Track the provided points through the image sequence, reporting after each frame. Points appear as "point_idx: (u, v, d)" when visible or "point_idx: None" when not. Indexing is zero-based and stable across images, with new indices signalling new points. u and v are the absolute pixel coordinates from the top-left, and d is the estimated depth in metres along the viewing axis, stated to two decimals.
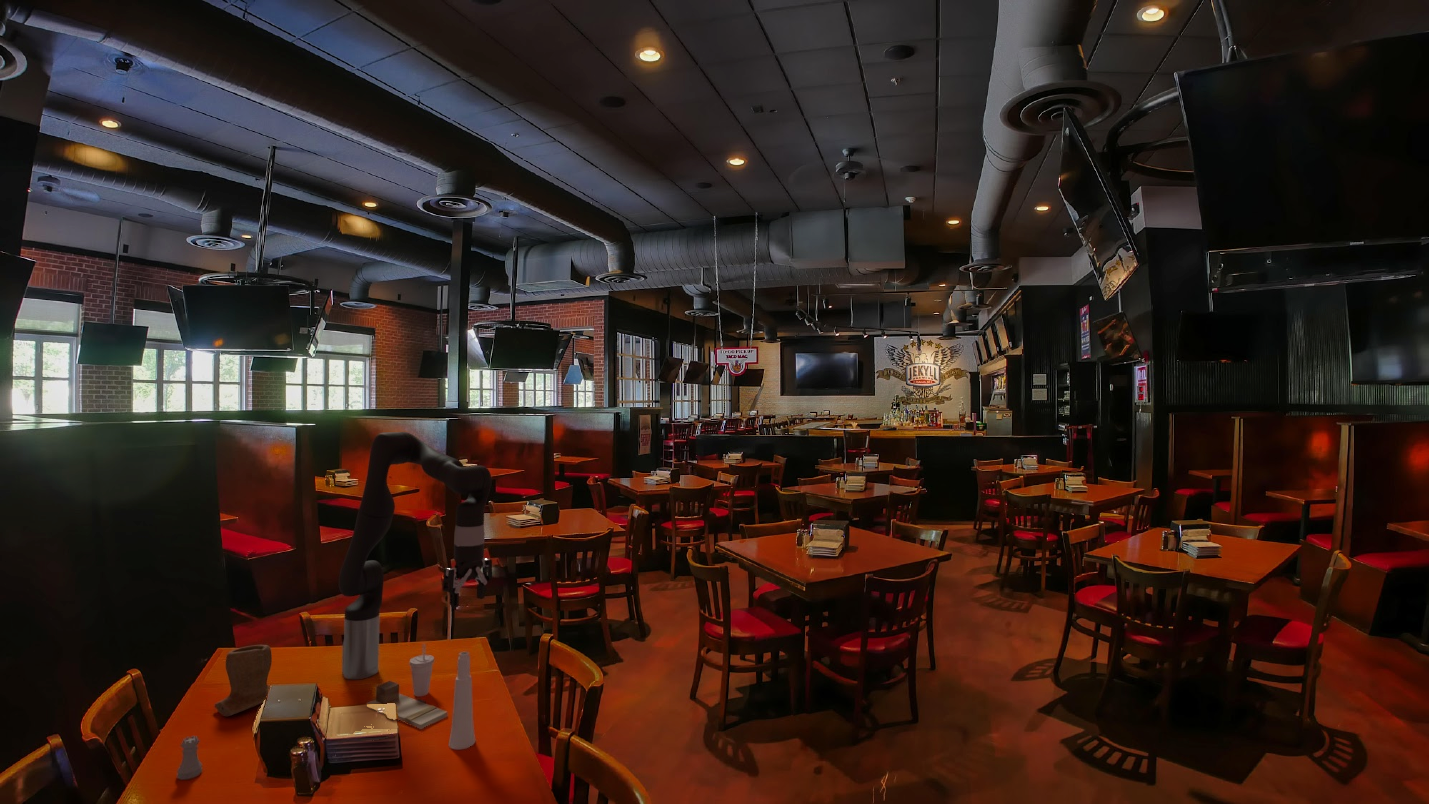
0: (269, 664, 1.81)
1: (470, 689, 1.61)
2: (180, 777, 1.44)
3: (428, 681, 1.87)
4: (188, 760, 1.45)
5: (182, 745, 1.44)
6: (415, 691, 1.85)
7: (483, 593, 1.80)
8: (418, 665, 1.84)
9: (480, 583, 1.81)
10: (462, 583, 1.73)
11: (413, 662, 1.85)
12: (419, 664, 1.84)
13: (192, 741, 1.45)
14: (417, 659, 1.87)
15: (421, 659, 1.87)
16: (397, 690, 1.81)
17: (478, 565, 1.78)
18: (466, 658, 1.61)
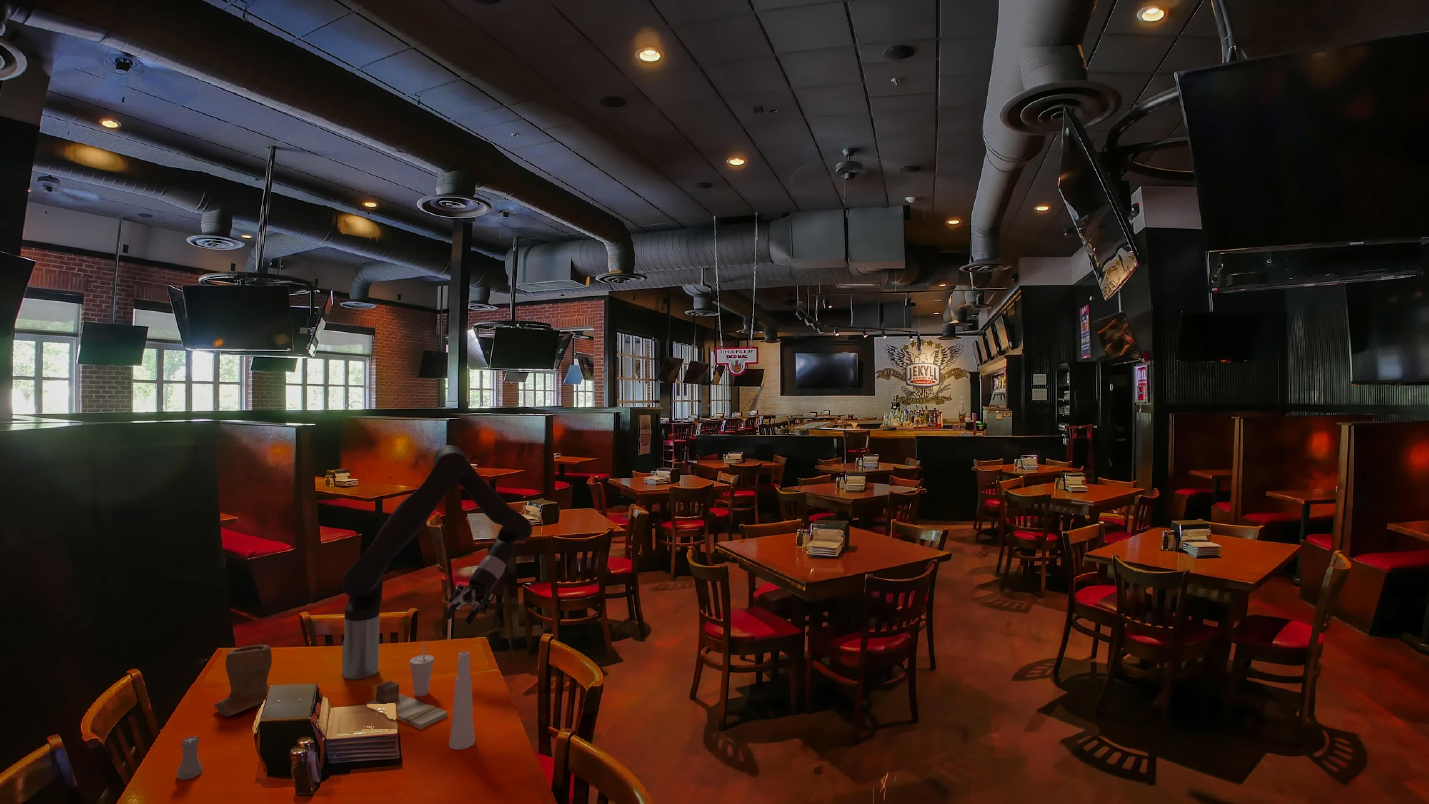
0: (269, 664, 1.81)
1: (470, 689, 1.61)
2: (180, 777, 1.44)
3: (428, 681, 1.87)
4: (188, 760, 1.45)
5: (182, 745, 1.44)
6: (415, 691, 1.85)
7: None
8: (418, 665, 1.84)
9: (455, 606, 2.02)
10: None
11: (413, 662, 1.85)
12: (419, 664, 1.84)
13: (192, 741, 1.45)
14: (417, 659, 1.87)
15: (421, 659, 1.87)
16: (397, 690, 1.81)
17: None
18: (466, 658, 1.61)
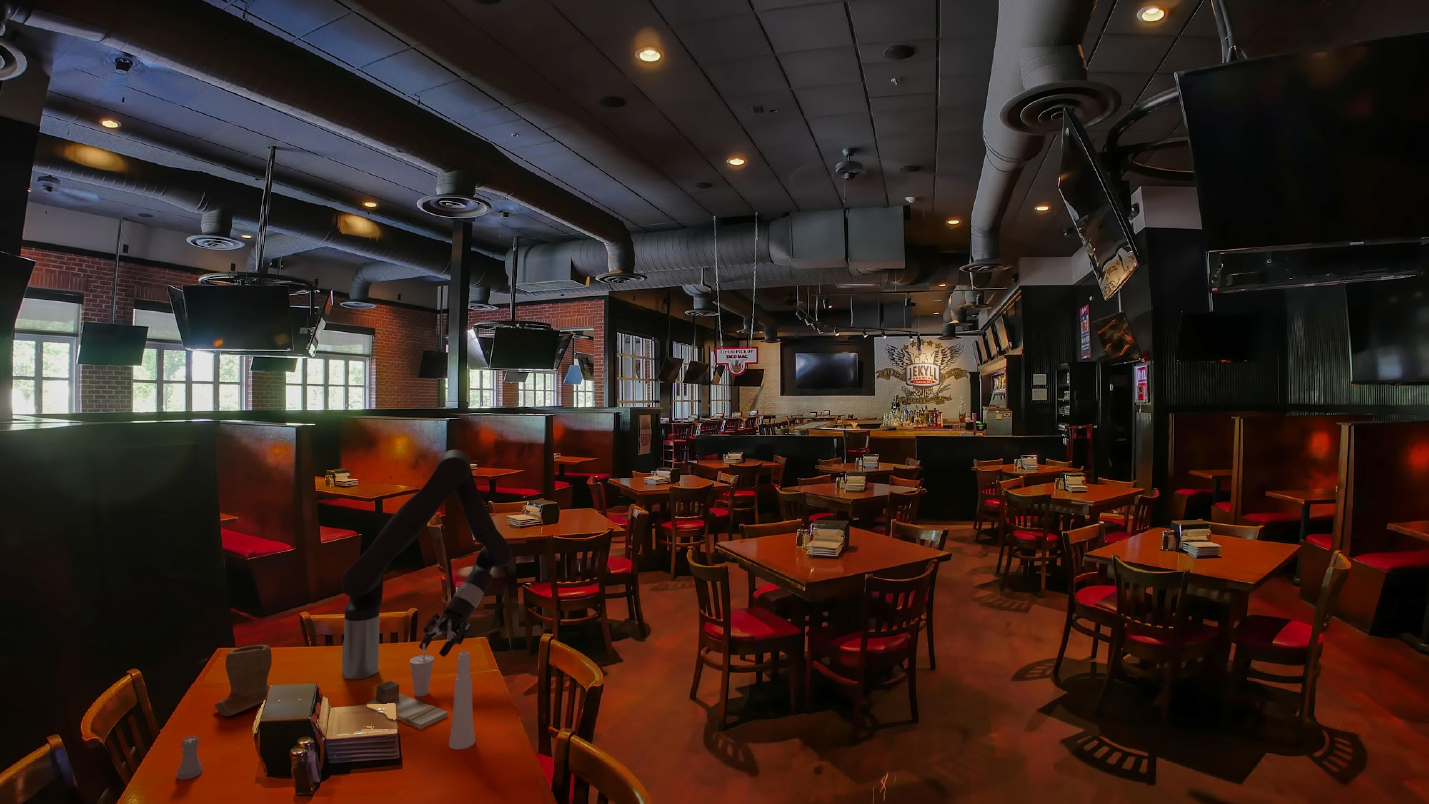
0: (269, 664, 1.81)
1: (470, 689, 1.61)
2: (180, 777, 1.44)
3: (428, 681, 1.87)
4: (188, 760, 1.45)
5: (182, 745, 1.44)
6: (415, 691, 1.85)
7: None
8: (418, 665, 1.84)
9: (430, 636, 1.94)
10: None
11: (413, 662, 1.85)
12: (419, 664, 1.84)
13: (192, 741, 1.45)
14: (417, 659, 1.87)
15: (421, 659, 1.87)
16: (397, 690, 1.81)
17: None
18: (466, 658, 1.61)
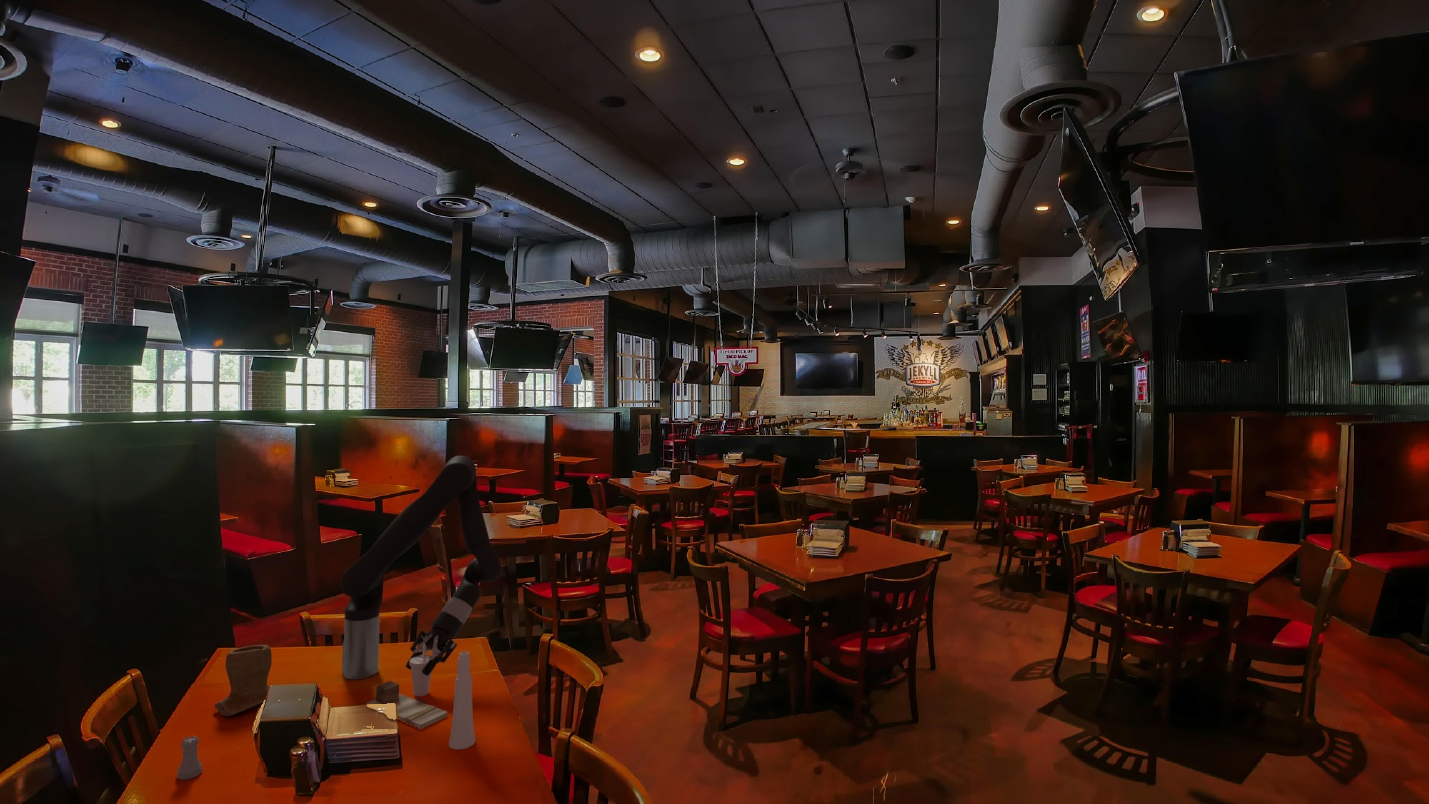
0: (269, 664, 1.81)
1: (470, 689, 1.61)
2: (180, 777, 1.44)
3: (428, 681, 1.87)
4: (188, 760, 1.45)
5: (182, 745, 1.44)
6: (415, 691, 1.85)
7: None
8: (418, 665, 1.84)
9: (418, 654, 1.90)
10: None
11: (413, 662, 1.85)
12: (419, 664, 1.84)
13: (192, 741, 1.45)
14: (417, 659, 1.87)
15: (421, 659, 1.87)
16: (397, 690, 1.81)
17: None
18: (466, 658, 1.61)
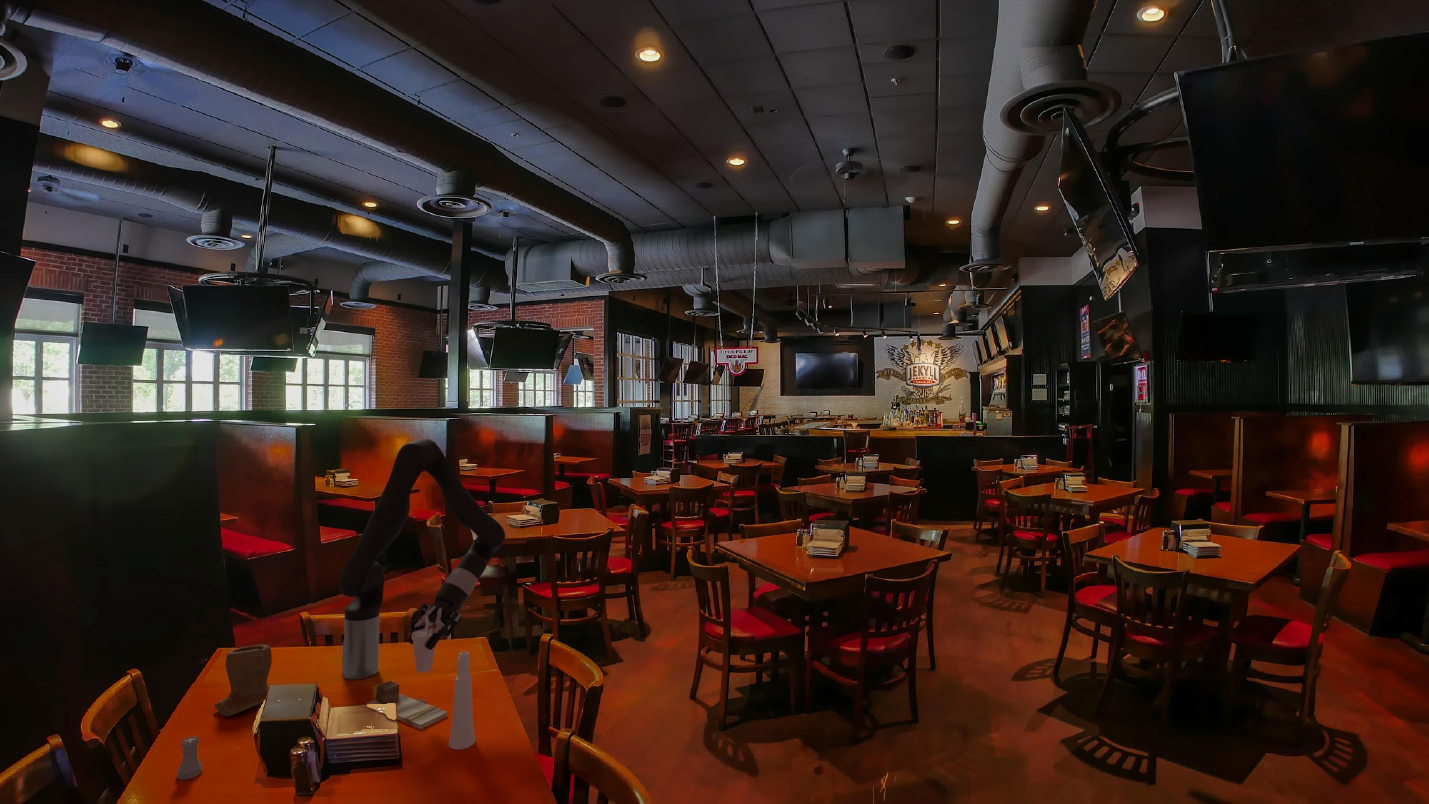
0: (269, 664, 1.81)
1: (470, 689, 1.61)
2: (180, 777, 1.44)
3: (432, 656, 1.73)
4: (188, 760, 1.45)
5: (182, 745, 1.44)
6: (418, 667, 1.72)
7: None
8: (421, 639, 1.71)
9: (420, 628, 1.76)
10: None
11: (415, 636, 1.71)
12: (422, 638, 1.71)
13: (192, 741, 1.45)
14: (419, 633, 1.73)
15: (424, 632, 1.73)
16: (397, 690, 1.81)
17: None
18: (466, 658, 1.61)
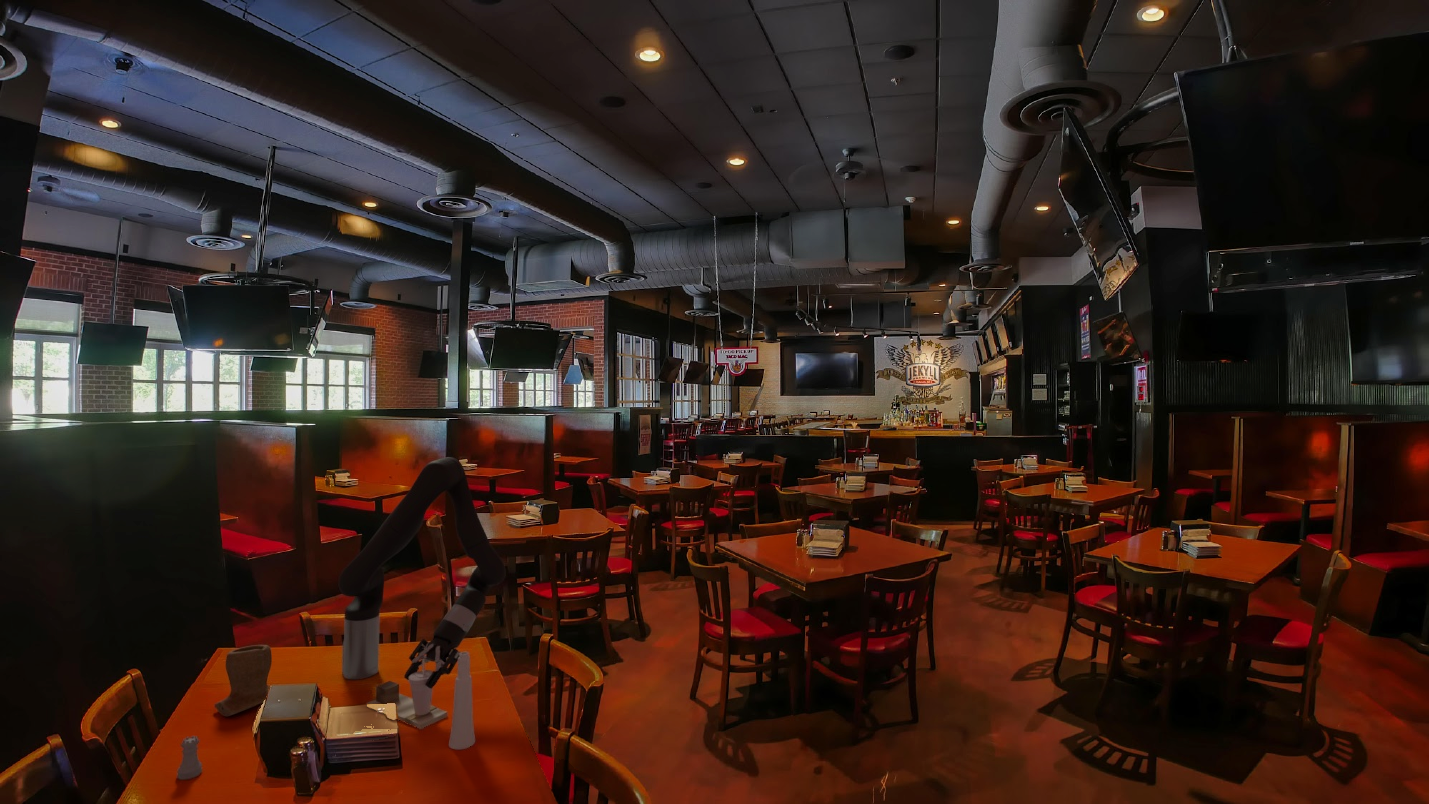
0: (269, 664, 1.81)
1: (470, 689, 1.61)
2: (180, 777, 1.44)
3: (429, 698, 1.73)
4: (188, 760, 1.45)
5: (182, 745, 1.44)
6: (416, 710, 1.72)
7: None
8: (418, 682, 1.70)
9: (417, 664, 1.77)
10: None
11: (412, 679, 1.71)
12: (419, 681, 1.70)
13: (192, 741, 1.45)
14: (416, 676, 1.73)
15: (421, 675, 1.73)
16: (397, 690, 1.81)
17: None
18: (466, 658, 1.61)
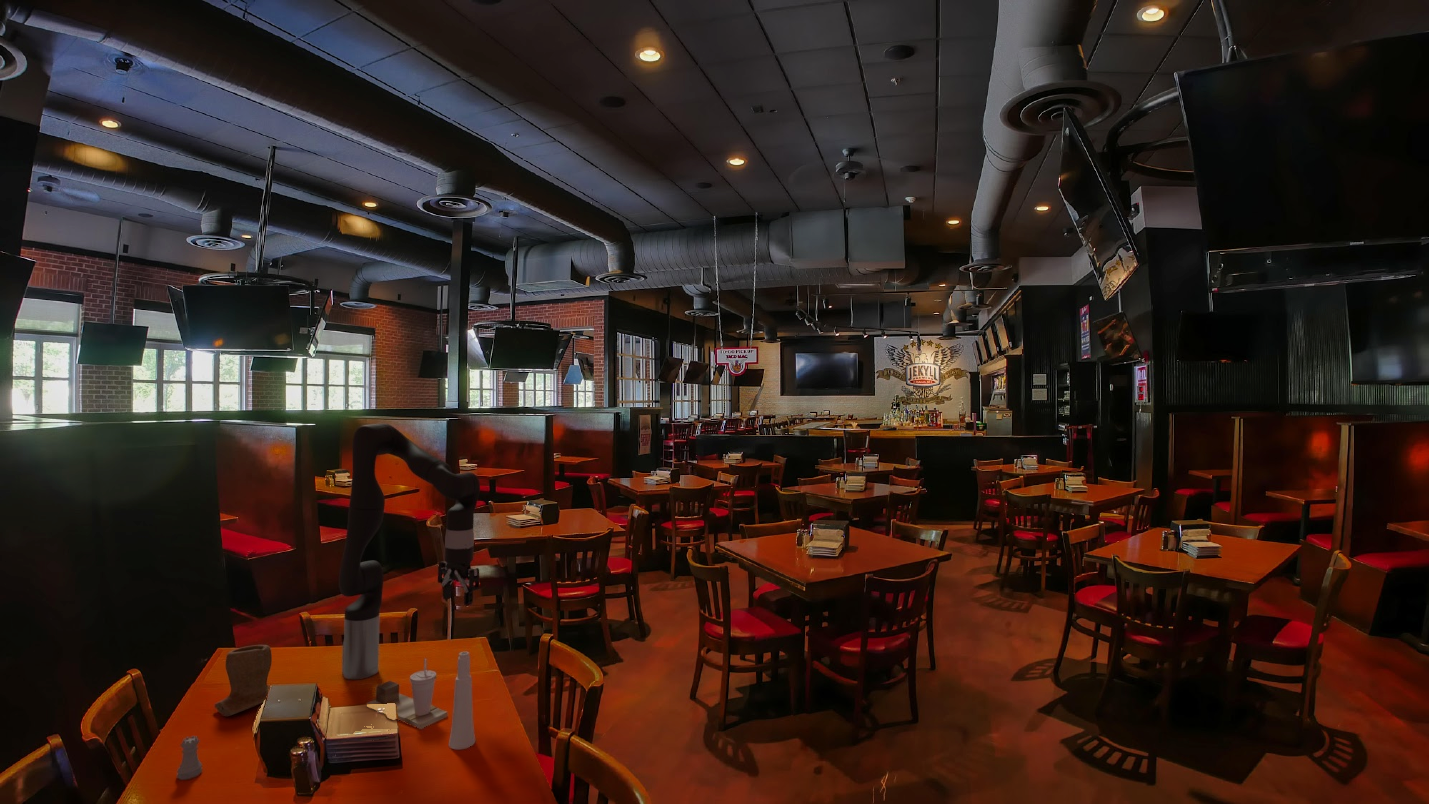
0: (269, 664, 1.81)
1: (470, 689, 1.61)
2: (180, 777, 1.44)
3: (430, 699, 1.73)
4: (188, 760, 1.45)
5: (182, 745, 1.44)
6: (416, 710, 1.72)
7: None
8: (419, 682, 1.70)
9: (448, 584, 1.89)
10: None
11: (414, 678, 1.71)
12: (420, 681, 1.71)
13: (192, 741, 1.45)
14: (417, 676, 1.73)
15: (422, 675, 1.73)
16: (397, 690, 1.81)
17: None
18: (466, 658, 1.61)
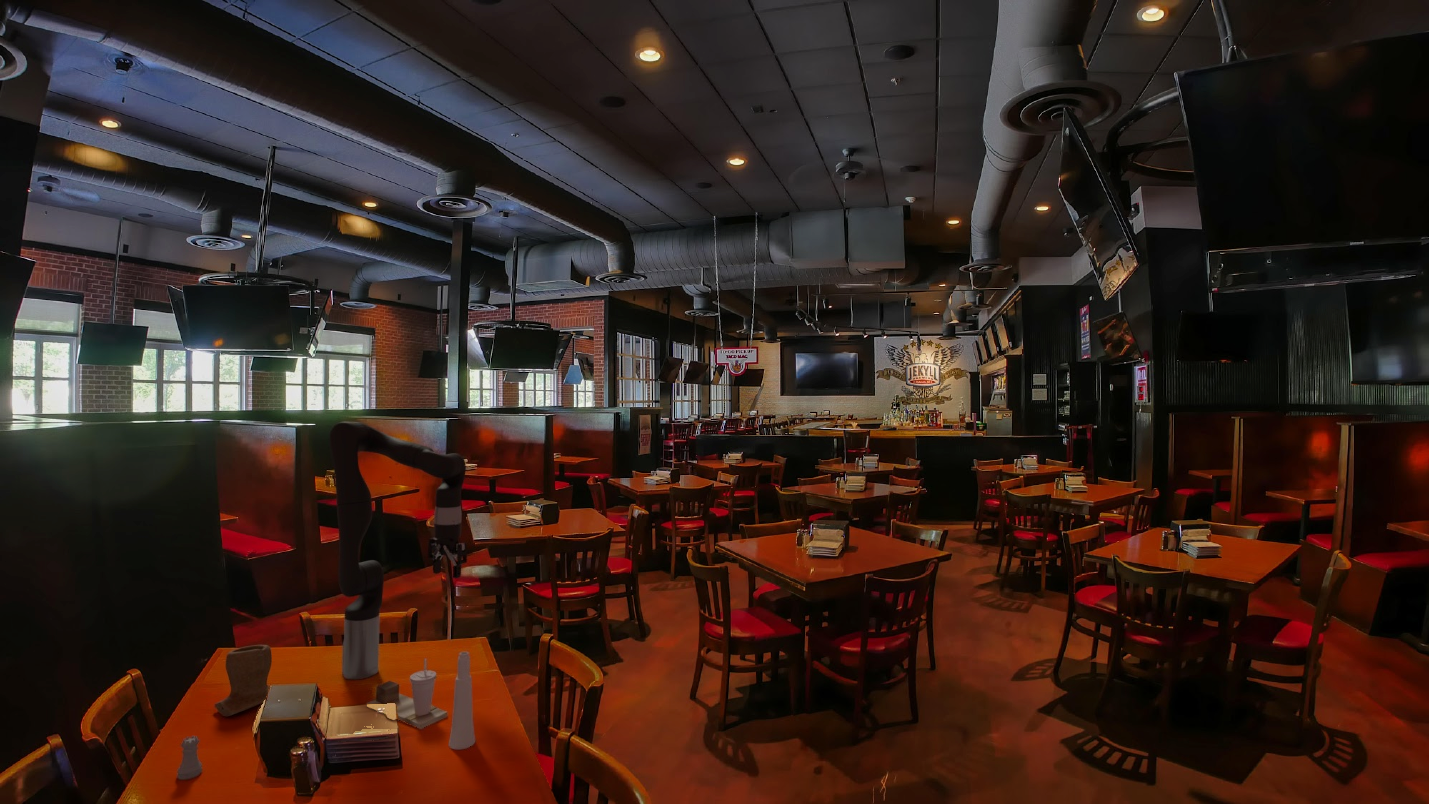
0: (269, 664, 1.81)
1: (470, 689, 1.61)
2: (180, 777, 1.44)
3: (430, 699, 1.73)
4: (188, 760, 1.45)
5: (182, 745, 1.44)
6: (416, 710, 1.72)
7: None
8: (419, 682, 1.70)
9: (437, 559, 2.00)
10: None
11: (414, 678, 1.71)
12: (420, 681, 1.71)
13: (192, 741, 1.45)
14: (417, 676, 1.73)
15: (422, 675, 1.73)
16: (397, 690, 1.81)
17: None
18: (466, 658, 1.61)
